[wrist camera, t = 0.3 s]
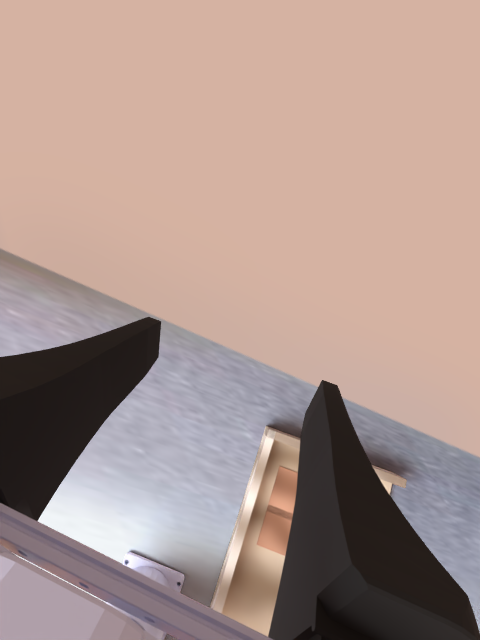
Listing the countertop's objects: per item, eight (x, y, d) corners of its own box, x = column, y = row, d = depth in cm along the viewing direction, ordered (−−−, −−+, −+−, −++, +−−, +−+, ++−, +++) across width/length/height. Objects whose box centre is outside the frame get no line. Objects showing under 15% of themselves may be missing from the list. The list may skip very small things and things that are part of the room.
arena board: (350, 674, 34) (363, 706, 31) (207, 613, 35) (204, 638, 32) (391, 472, 39) (406, 479, 36) (266, 425, 41) (268, 428, 37)
